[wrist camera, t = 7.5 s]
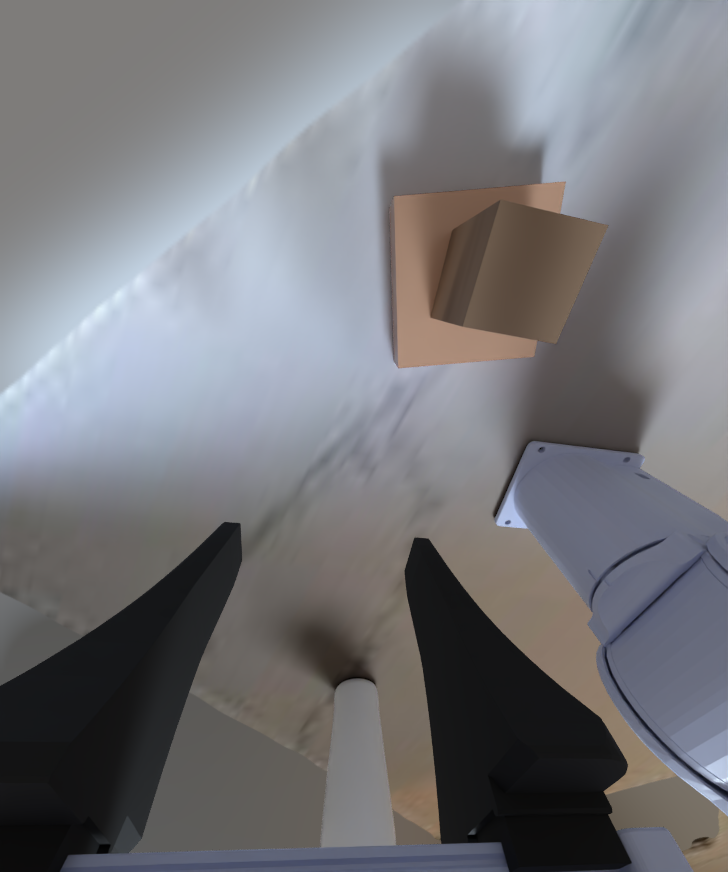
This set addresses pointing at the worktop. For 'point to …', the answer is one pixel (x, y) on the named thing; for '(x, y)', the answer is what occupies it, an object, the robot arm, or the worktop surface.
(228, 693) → the worktop surface
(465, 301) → the walnut block
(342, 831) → the drinking glass
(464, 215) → the terracotta tile
